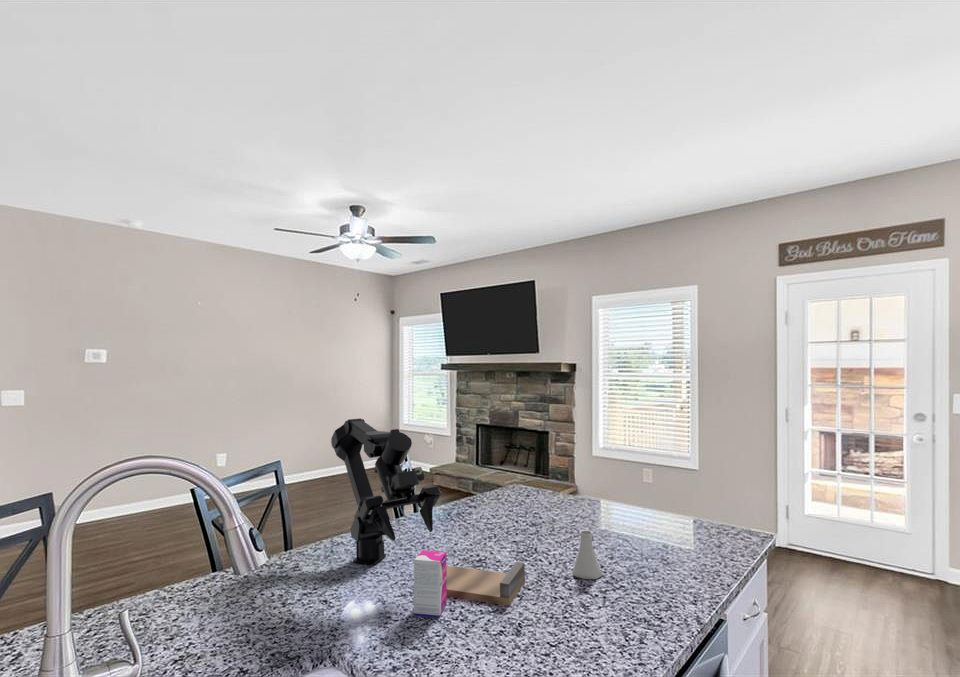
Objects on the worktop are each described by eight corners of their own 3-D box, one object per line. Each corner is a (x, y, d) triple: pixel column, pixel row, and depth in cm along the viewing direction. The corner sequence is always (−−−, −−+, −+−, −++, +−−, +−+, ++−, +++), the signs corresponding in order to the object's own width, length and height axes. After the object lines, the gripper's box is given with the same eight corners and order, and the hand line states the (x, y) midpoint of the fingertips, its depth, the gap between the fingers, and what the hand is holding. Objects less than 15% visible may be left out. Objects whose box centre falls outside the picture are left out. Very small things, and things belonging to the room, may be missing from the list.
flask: (605, 570, 126) (604, 529, 127) (599, 582, 120) (597, 538, 120) (576, 566, 129) (575, 525, 130) (568, 577, 123) (567, 535, 123)
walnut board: (424, 592, 117) (424, 572, 117) (447, 571, 128) (446, 553, 128) (509, 605, 110) (508, 584, 110) (525, 582, 121) (524, 562, 121)
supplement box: (440, 618, 105) (439, 561, 105) (412, 616, 106) (411, 559, 107) (448, 605, 111) (446, 550, 111) (421, 603, 112) (420, 549, 112)
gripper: (363, 461, 115) (383, 524, 106) (436, 451, 126) (461, 507, 116) (351, 490, 122) (370, 552, 112) (422, 478, 132) (445, 534, 122)
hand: (413, 535), depth 115 cm, fingers open, 9 cm apart
